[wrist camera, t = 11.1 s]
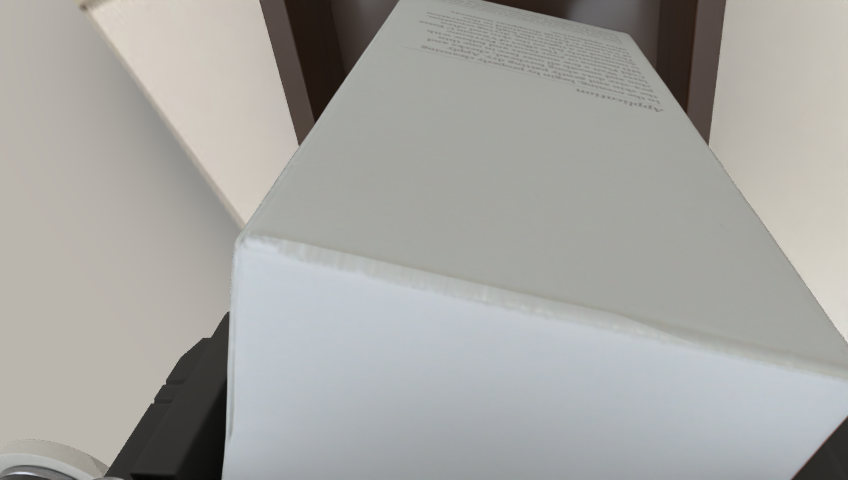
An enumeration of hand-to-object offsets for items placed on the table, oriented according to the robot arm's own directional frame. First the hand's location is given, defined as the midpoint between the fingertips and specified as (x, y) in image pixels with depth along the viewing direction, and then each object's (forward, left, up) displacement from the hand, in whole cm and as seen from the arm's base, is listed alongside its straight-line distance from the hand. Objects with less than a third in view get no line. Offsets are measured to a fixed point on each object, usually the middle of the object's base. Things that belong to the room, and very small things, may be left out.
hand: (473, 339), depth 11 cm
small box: (0, 0, -9) cm, 9 cm away
